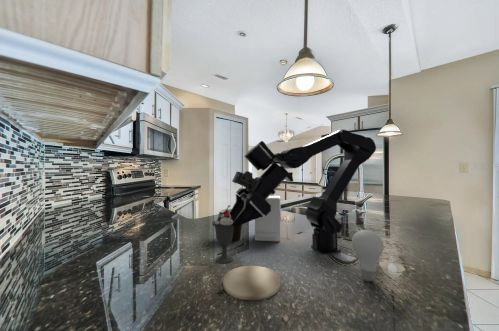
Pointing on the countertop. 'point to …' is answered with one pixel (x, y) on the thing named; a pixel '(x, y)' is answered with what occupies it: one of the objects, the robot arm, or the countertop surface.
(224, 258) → the sundae
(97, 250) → the countertop surface
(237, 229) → the coffee mug
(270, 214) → the supplement box
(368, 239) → the lightbulb
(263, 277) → the coaster
